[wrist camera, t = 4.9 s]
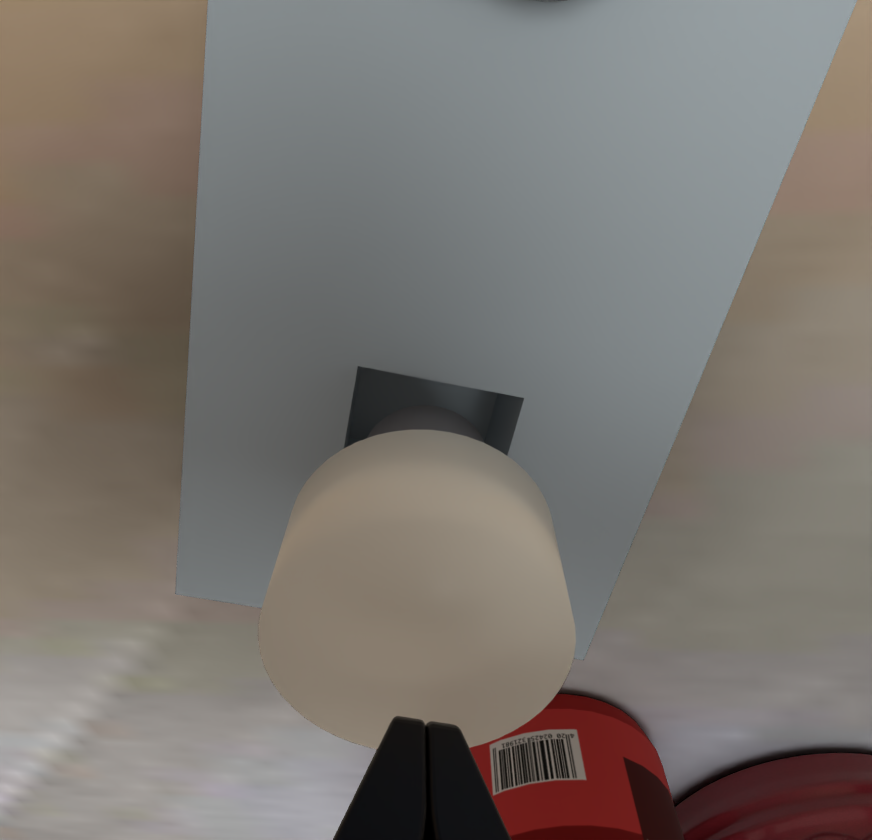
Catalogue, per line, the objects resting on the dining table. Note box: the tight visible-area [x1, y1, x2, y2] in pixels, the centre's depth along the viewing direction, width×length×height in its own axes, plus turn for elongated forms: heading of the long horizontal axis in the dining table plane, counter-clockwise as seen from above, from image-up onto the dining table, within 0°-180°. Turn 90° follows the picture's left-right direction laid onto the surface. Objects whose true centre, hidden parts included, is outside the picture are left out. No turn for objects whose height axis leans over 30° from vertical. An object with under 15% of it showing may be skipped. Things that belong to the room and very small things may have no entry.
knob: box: [258, 405, 576, 749], centre depth 13 cm, size 5×5×5 cm
